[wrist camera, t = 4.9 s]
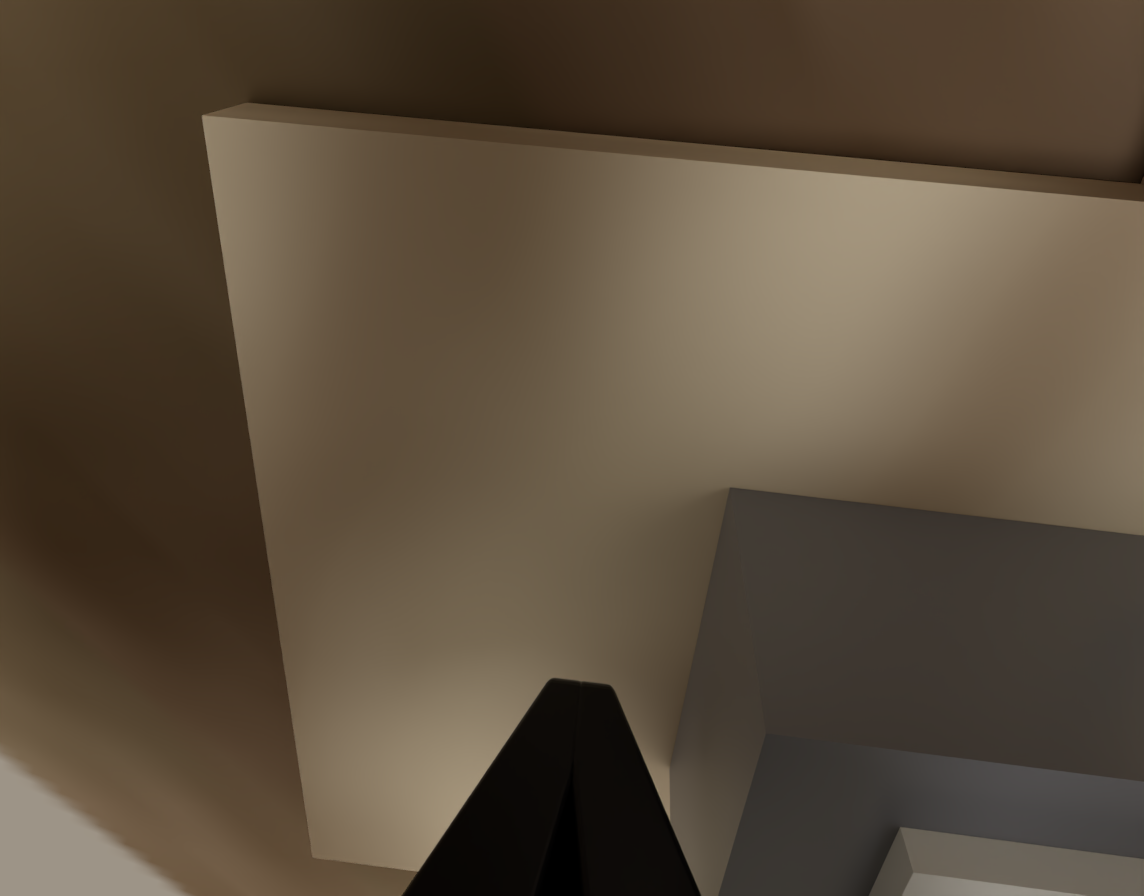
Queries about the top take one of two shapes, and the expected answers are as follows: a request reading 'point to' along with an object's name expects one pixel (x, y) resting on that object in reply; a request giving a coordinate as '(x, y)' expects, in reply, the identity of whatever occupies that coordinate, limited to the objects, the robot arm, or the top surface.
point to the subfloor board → (621, 405)
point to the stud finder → (913, 706)
